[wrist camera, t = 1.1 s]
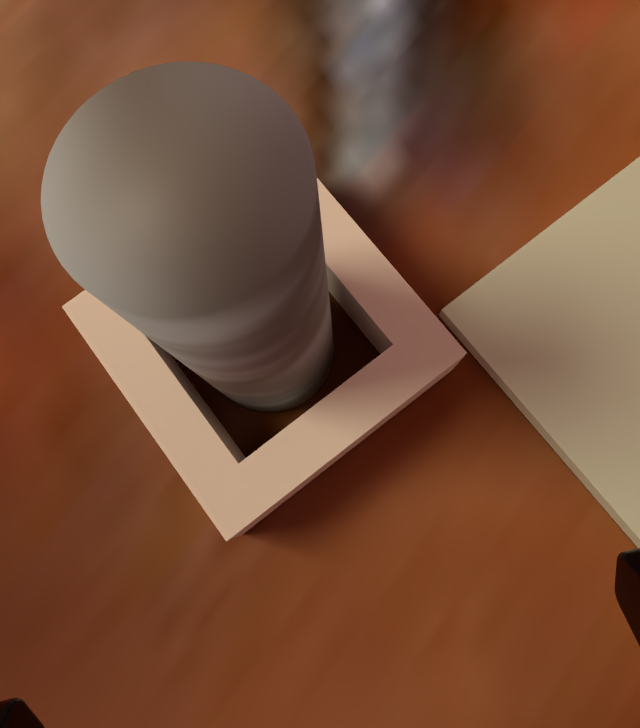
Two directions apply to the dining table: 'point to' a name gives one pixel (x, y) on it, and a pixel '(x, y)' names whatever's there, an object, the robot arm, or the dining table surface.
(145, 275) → the peg
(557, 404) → the pad
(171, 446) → the pocket block
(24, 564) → the dining table surface
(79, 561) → the dining table surface
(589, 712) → the dining table surface
